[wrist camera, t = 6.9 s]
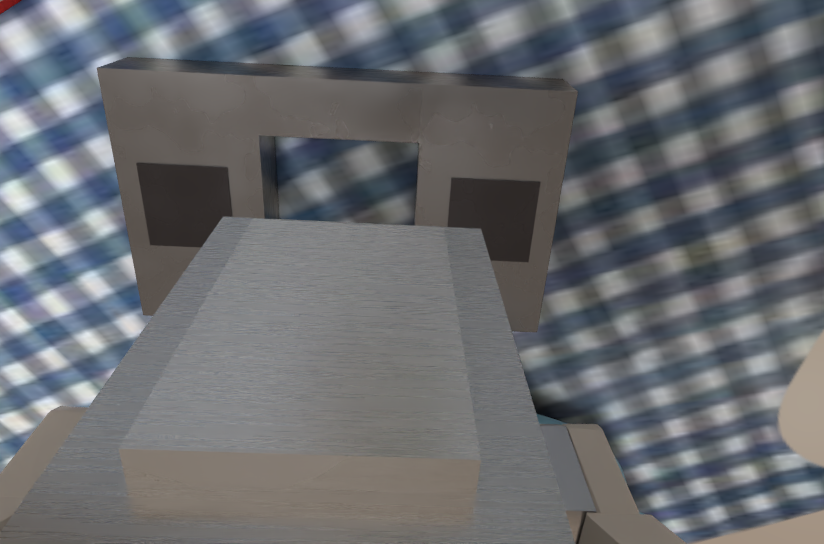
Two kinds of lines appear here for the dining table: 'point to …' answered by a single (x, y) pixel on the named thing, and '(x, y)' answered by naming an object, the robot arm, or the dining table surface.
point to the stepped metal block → (311, 403)
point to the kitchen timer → (7, 4)
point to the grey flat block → (335, 119)
